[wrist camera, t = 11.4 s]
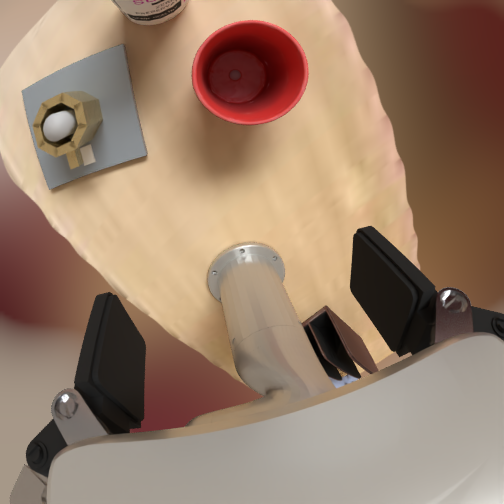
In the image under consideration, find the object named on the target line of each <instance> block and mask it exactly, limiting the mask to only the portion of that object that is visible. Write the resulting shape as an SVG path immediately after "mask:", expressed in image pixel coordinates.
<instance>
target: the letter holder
mask: <svg viewBox="0 0 504 504" xmlns="http://www.w3.org/2000/svg"><path fill="white" fill-rule="evenodd" d="M302 326H303V328H304V330H305V333H306V335H307V337H308V339H309V341H310V343H311V346H312V348H313V350H314V352H315V354H316V356H317V358H318V360H319V362H320V363H321V365H322V367H323V369H324V370H325V372H326V374H327V375H328V377H330V378H332V379H335V380H338V381H341V380H342V377H341V375H340V373H339V372H338V370H337V368H338V369H340V370H341V371H343V372H345V373H346V374H348V375H350V376H352V377H355V378H358V379H360V378H361V375H360V373H359V372H358V370H357V368H356V366H355V364H354V362H356V363H357V364H358V365H359V366H360V367H362V368H363V369H364V370H366V371H367V372H368V373H370V374H373V373H375V372H378V369H377V367H376V365H375V363H374V360H373V359H372V357H371V355H370V353H369V351H368V349H367V348H366V346H365V344H364V342H363V340H362V338H361V337H360V336H359V335H358V334H356V333H355V332H354V331H353V330H352V329H351V328H350V327H349V326H348V325H347V324H346V323H345V322H343V321H342V320H341V319H340V318H339V317H338V316H337V315H336V314H335V313H334V312H333V311H331V310H330V308H328V307H327V306H325V307H323V308H322V309H320V310H319V311H318V312H316V313H315V314H314V315H313V316H311V317H310V318H309V319H307V320H306V321H305V322H303V323H302ZM353 361H354V362H353ZM336 367H337V368H336Z"/></svg>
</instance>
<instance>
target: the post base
mask: <svg viewBox="0 0 504 504" xmlns="http://www.w3.org/2000/svg"><path fill="white" fill-rule="evenodd" d="M72 91H84V92H86V93H88V94H90V95H91V96H93V97H95V98H97V99H99V103H100V108H101V112H102V117H103V121H102V123H101V124H100V126H99V128H98V130H97V132H96V134H95V136H94V138H93V139H92V140H90V141H88V142H87V143H85V144H84V145H82V146H80V151H81V154H82V158H83V161H84V163H83V164H81V165H80V166H78V167H76V168H73V169H70V166H69V162H68V159H67V156H66V154H63V155H61V156H59V157H54V156H52V155H50V154H48V153H47V152H45V151H43V150H41V149H39V148H38V146H37V142H36V138H35V134H34V131H33V126H32V125H33V123H34V120H35V118H36V115H37V113H38V111H39V108H40V106H41V104H42V102H44V101H46V100H48V99H50V98H52V97H54V96H56V95H58V94H60V93H62V92H72ZM22 95H23V100H24V105H25V110H26V114H27V119H28V123H29V127H30V131H31V135H32V138H33V142H34V145H35V149H36V152H37V156H38V159H39V162H40V165H41V168H42V171H43V174H44V177H45V180H46V183H47V185H48V188H49V190H50V189H52V188H55V187H57V186H59V185H62V184H64V183H67V182H69V181H72V180H74V179H77V178H80V177H82V176H85V175H88V174H90V173H93V172H96V171H99V170H102V169H105V168H108V167H110V166H113V165H117V164H120V163H123V162H126V161H129V160H132V159H136V158H139V157H142V156H146V155H147V154H148V153H147V149H146V145H145V141H144V137H143V133H142V129H141V125H140V120H139V116H138V111H137V107H136V102H135V97H134V93H133V88H132V83H131V77H130V72H129V67H128V61H127V55H126V49H125V45H124V44H121V45H118V46H115V47H112V48H110V49H107V50H104V51H102V52H99V53H97V54H94V55H92V56H89V57H87V58H84V59H82V60H80V61H78V62H75V63H73V64H71V65H69V66H67V67H65V68H63V69H60V70H58V71H56V72H54V73H53V74H51V75H49V76H47V77H45V78H43V79H41V80H40V81H38V82H36V83H34V84H33V85H31V86H29V87H27V88H26V89H24V90H22ZM77 127H78V123H77V119H76V115H75V110H74V109H73V108H71V107H69V106H67V107H66V109H65V111H61V112H58V113H54V114H51V115H50V116H49V117H48V118H47V119H46V120H45V123H44V127H43V131H44V135H45V137H46V138H47V139H48V140H50V141H58V140H60V139H62V138H64V137H66V136H68V135H72V136H74V133H75V131H76V129H77Z"/></svg>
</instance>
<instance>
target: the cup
mask: <svg viewBox="0 0 504 504" xmlns="http://www.w3.org/2000/svg"><path fill="white" fill-rule="evenodd" d="M67 106H69V107H71V108H73V109H74V110H75V115H76V119H77V123H78V127H77V129H76V131H75V133H74V136H72V135H68V136H66V137H64V138H62V139H60V140H58V141H50V140H48V139H47V138H46V137H45V135H44V131H43V127H44V123H45V120H46V119H47V118H48V117H49V116H50V115H51V114H54V113H58V112H61V111H65V109H66V107H67ZM102 121H103V117H102V112H101V108H100V103H99V99H97V98H95V97H93V96H91V95H90V94H88V93H86V92H84V91H72V92H62V93H60V94H58V95H56V96H54V97H52V98H50V99H48V100H46V101H44V102H42V104H41V106H40V108H39V111H38V113H37V115H36V118H35V120H34V123H33V125H32V126H33V131H34V134H35V138H36V142H37V146H38V148H39V149H41V150H43V151H45V152H47V153H48V154H50V155H52V156H54V157H59V156H61V155H63V154H66V156H67V159H68V162H69V166H70V169H73V168H76V167H78V166H80V165H81V164H83V163H84V161H83V158H82V154H81V151H80V146H82V145H84V144H85V143H87V142H88V141H90V140H92V139H93V138H94V136H95V134H96V132H97V130H98V128H99V126H100V124H101V123H102Z"/></svg>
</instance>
